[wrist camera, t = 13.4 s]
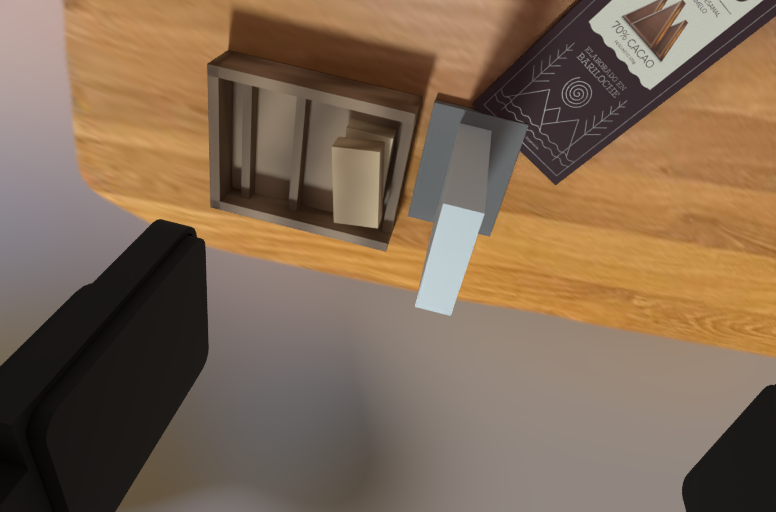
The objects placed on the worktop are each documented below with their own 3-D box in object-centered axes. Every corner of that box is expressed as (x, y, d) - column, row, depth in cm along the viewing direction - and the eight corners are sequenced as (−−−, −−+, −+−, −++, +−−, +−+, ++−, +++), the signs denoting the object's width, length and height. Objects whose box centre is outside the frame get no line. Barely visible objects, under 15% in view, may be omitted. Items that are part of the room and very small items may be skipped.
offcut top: (384, 141, 41) (379, 151, 39) (382, 216, 44) (377, 228, 43) (338, 136, 41) (331, 146, 40) (339, 211, 45) (333, 222, 43)
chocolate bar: (472, 104, 40) (709, -123, 31) (473, 100, 41) (704, -123, 31) (555, 185, 43) (799, -3, 33) (554, 179, 43) (792, -6, 34)
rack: (422, 96, 41) (415, 113, 38) (393, 228, 48) (385, 251, 45) (227, 50, 42) (207, 63, 39) (228, 187, 49) (210, 207, 46)
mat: (528, 121, 41) (528, 125, 40) (490, 232, 47) (489, 236, 46) (435, 99, 41) (434, 102, 41) (408, 212, 47) (407, 216, 47)
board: (491, 130, 41) (484, 213, 31) (463, 220, 46) (450, 315, 36) (459, 123, 41) (443, 203, 31) (435, 213, 46) (414, 306, 36)
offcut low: (397, 129, 42) (393, 138, 40) (382, 207, 46) (377, 218, 45) (352, 118, 42) (346, 127, 41) (341, 196, 46) (335, 207, 45)
